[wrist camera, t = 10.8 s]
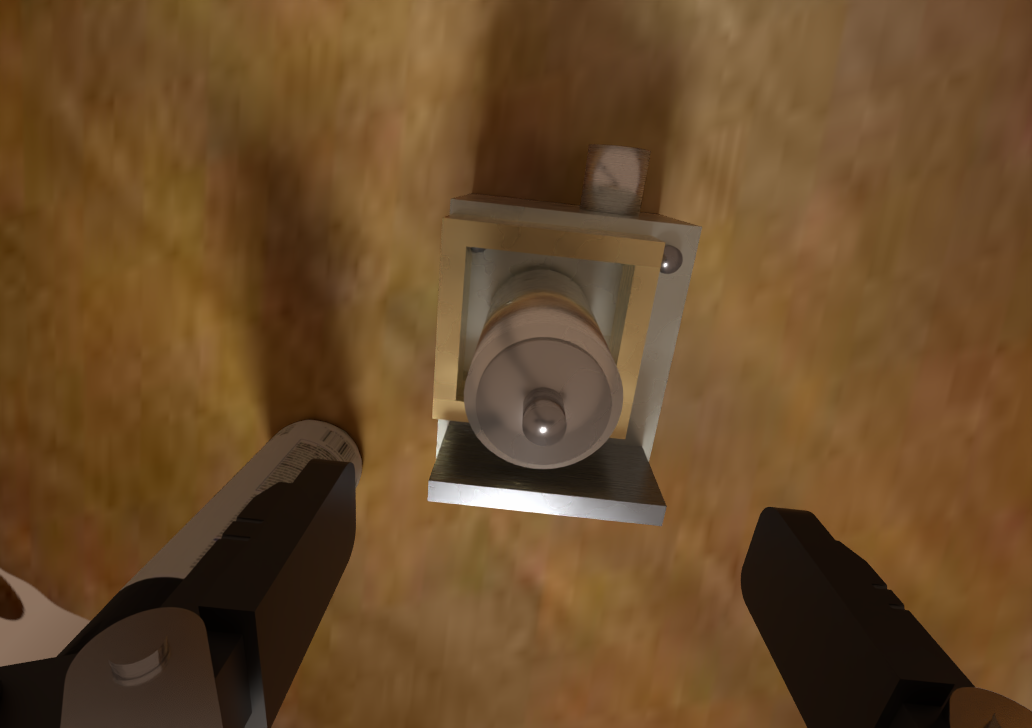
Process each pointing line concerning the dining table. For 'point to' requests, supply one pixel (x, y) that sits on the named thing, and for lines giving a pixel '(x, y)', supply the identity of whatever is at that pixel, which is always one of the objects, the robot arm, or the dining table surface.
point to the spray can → (222, 518)
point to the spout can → (542, 375)
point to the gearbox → (616, 307)
